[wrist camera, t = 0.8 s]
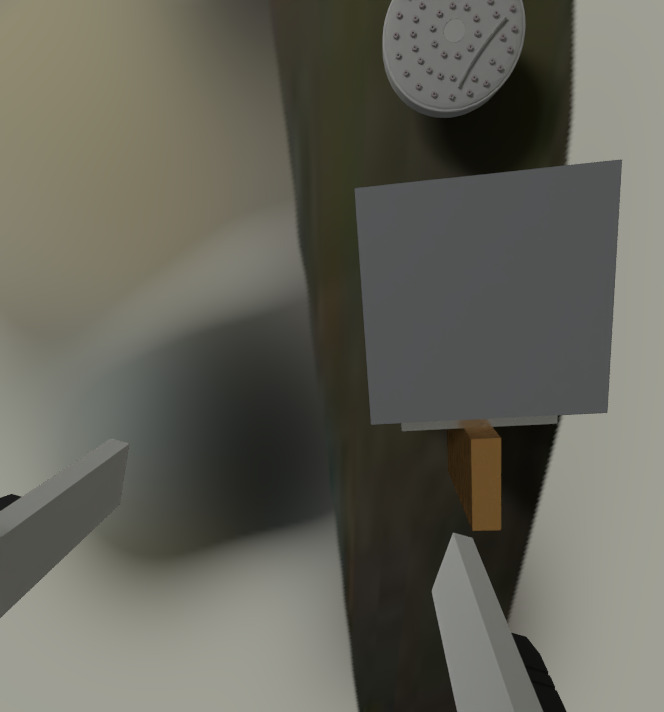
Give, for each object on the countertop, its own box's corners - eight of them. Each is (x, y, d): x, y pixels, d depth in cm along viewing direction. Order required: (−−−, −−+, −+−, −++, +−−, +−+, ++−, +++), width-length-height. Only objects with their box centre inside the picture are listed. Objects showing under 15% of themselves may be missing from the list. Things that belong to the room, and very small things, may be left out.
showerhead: (437, -102, 25) (564, 0, 25) (421, -20, 32) (521, 58, 32) (348, 44, 27) (467, 135, 27) (351, 91, 34) (446, 162, 35)
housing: (358, 218, 36) (354, 188, 22) (521, 202, 35) (621, 159, 21) (369, 369, 39) (371, 424, 25) (519, 360, 38) (607, 412, 24)
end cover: (384, 242, 33) (393, 231, 23) (512, 230, 32) (579, 213, 22) (397, 460, 37) (408, 532, 27) (511, 455, 36) (567, 528, 26)
